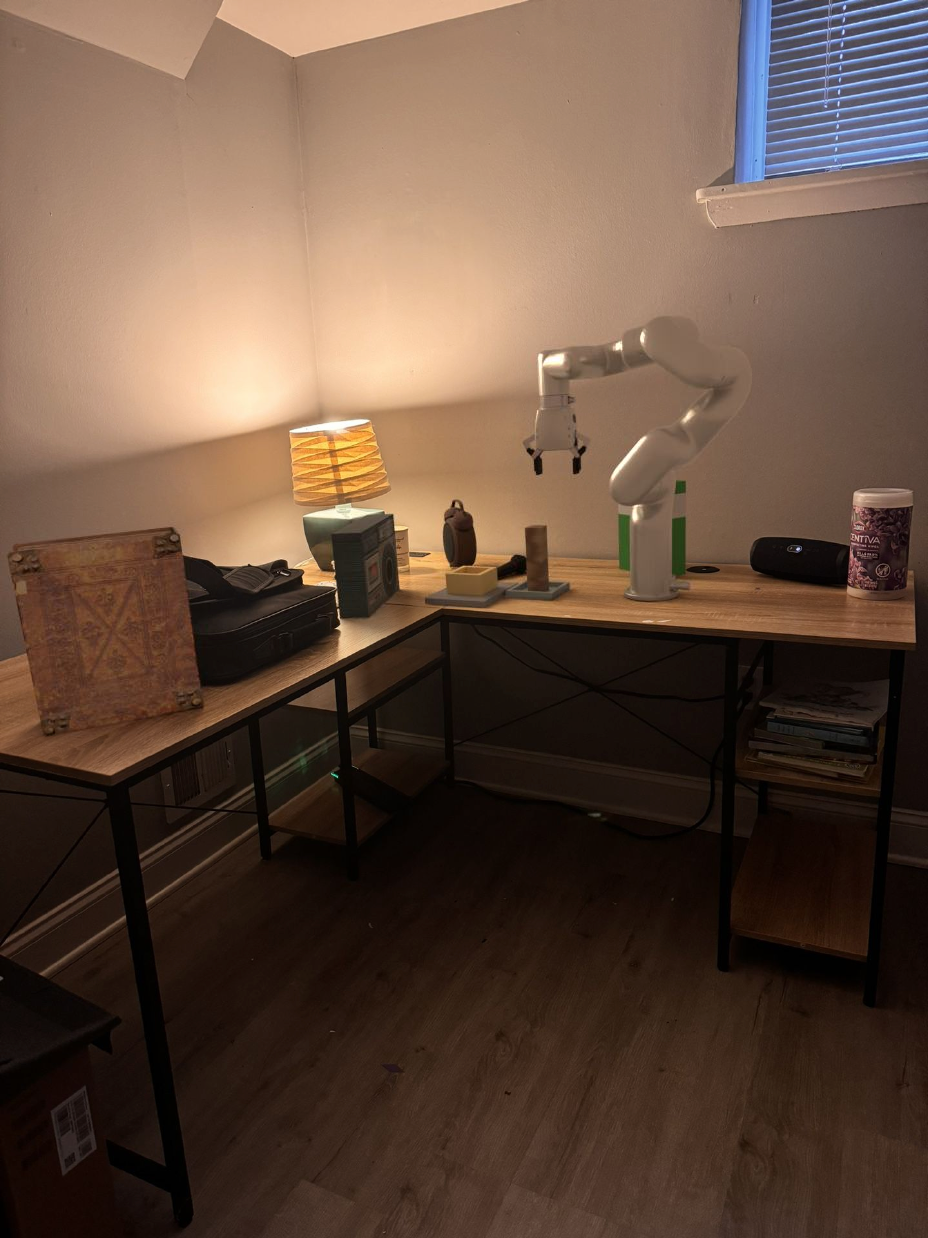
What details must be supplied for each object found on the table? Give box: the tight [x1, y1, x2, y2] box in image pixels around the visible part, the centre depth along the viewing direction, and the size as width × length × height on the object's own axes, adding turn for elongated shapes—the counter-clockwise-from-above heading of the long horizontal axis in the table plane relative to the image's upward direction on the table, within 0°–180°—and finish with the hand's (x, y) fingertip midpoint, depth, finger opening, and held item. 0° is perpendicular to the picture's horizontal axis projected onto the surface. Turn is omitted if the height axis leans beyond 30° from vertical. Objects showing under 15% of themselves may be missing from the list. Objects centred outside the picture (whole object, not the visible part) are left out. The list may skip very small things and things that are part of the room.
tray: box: [505, 579, 571, 602], centre depth 211 cm, size 12×12×2 cm
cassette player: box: [330, 513, 401, 619], centre depth 211 cm, size 29×7×20 cm, turn 170°
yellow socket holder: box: [424, 565, 519, 609], centre depth 212 cm, size 16×20×6 cm
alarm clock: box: [442, 498, 478, 569], centre depth 243 cm, size 15×7×20 cm, turn 17°
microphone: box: [496, 554, 527, 580], centre depth 231 cm, size 6×6×20 cm
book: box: [6, 526, 205, 737], centre depth 142 cm, size 25×9×30 cm, turn 112°
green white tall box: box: [617, 479, 687, 577], centre depth 225 cm, size 18×7×24 cm, turn 29°
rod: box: [524, 524, 550, 592], centre depth 209 cm, size 4×4×16 cm
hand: (557, 474), depth 213 cm, fingers open, 9 cm apart
